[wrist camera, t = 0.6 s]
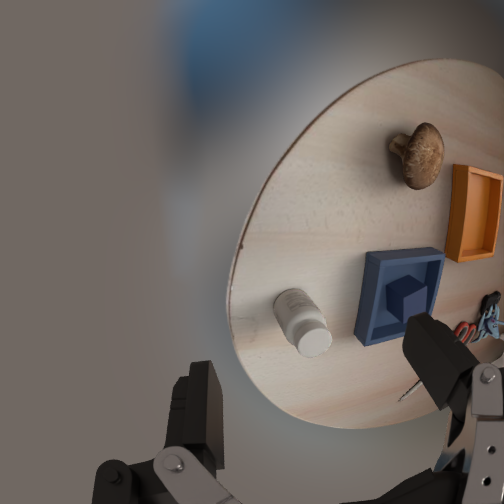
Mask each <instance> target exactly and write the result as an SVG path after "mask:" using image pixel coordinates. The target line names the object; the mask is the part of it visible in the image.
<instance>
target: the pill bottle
mask: <svg viewBox="0 0 504 504" xmlns="http://www.w3.org/2000/svg"><path fill="white" fill-rule="evenodd" d="M274 314H275V316H276V318H277V320H278V322H279V324H280V326H281V329H282V331H283V333H284V335H285V337H286V339H287V340H288V341H289V342H290V343H291V344H292V345H294V346H295V347H296V348H297V350H298V352H299V353H300V354H301V355H302V356H303V357H307V358H313V357H317V356H319V355H321V354H322V353H324V352H325V351H326V350H327V349H328V348H329V346H330V344H331V341H332V336H331V333H330V332H329V330H328V329H327V327H326V319H325V317H324V315H323V314H322V312H321V311H320V310H319V309H318V307H317V306H316V305H315V304H314V302H313V301H312V300H311V299H310V297H309V296H308V295H307V294H306V293H305V292H304V291H302V290H298V289H292V290H288V291H285V292H283V293H282V294H281V295H280V296H279V297H278V298H277V300H276V301H275V304H274Z"/></svg>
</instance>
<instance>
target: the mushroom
mask: <svg viewBox="0 0 504 504" xmlns="http://www.w3.org/2000/svg"><path fill="white" fill-rule="evenodd" d="M389 150H390V151H392V152H394V153H396V154H398V155H399V156H401V159H402V162H403V177H404V181H405V183H406V184H407V186H408V187H410V188H411V189H414V190H420V189H424V188H426V187H428V186H430V185H431V184H432V183H434V181H435V179H436V178H437V176H438V174H439V172H440V169H441V166H442V162H443V158H444V144H443V140H442V137H441V135H440V133H439V131H438V130H437V129H436V128H435V127H434V126H433V125H432V124H430V123H422V124H420V125H419V126H418V127H417V128H416V130H415V131H414V133H413V134H412V136H408V135H406V134H402V133H401V134H399V135H397V136H396V137H395V138H393V140H392V141H391V143H390V145H389Z"/></svg>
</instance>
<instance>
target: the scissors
mask: <svg viewBox="0 0 504 504" xmlns="http://www.w3.org/2000/svg"><path fill="white" fill-rule="evenodd" d="M463 328H464V329H463ZM462 329H463V331H462V333H461V335H460V336H459V337H458V335H459V333H460V331H461V330H462ZM475 332H476V326H475V325H474V324H471V325H470V326H469V325H468V323H467V322H462V323H461V324H460V325H459V326H458V327H457V329H456V330H455V332H454V334H455V335H456V336H457V337H458V338H459V340H461V341H462V342H463V344H464V345H465V346H467V345H468V344H469V342H470V341H471V339H472V338H473V336H474V334H475ZM422 384H423V383H422V381H421V380H420V381H419V382H418V383H417V384H416V385H415V386H414V387H413V388H412V389H411V390H409V391H408V392H407V393H406V394H405V395H404V396H403V397H402V398H401V399H400V401H402V400H403V399H405V398H406V397H407V396H409V395H410V394H411V393H413V392H414V391H415V390H416V389H418V388H419V387H420V386H421V385H422Z"/></svg>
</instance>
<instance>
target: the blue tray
mask: <svg viewBox="0 0 504 504" xmlns="http://www.w3.org/2000/svg"><path fill="white" fill-rule="evenodd" d="M445 255H446V254H445V253H443V252H441V251H439V250H436V249H434V248H432V247H427V248H415V249H402V250H390V251H377V252H367V254H366V263H365V270H364V278H363V285H362V291H361V298H360V304H359V309H358V315H357V321H356V326H355V331H354V335H355V336H356V337H357V339H358V340H359V341H360V342H361V343H362V344H363V346H364V347H365V346H369V345H373V344H377V343H381V342H385V341H389V340H392V339H396V338H399V337H403V336H404V335H405V330H406V326H407V322H406V323H404V324H402V323H401V322H400V321H399V320H398V319H397V318H396V317H394V316H393V315H392V314H391V313H390V312H389V311H387V300H386V285H387V284H389V283H391V282H393V281H396V280H398V279H400V278H402V277H404V276H406V275H410V276H412V277H414V278H415V279H417V280H419V281H420V282H422V283H423V284H425V285H426V286H427V300H426V312H427V313H428V314H429V315H430V316H431V315H432V311H433V308H434V304H435V300H436V296H437V292H438V288H439V284H440V279H441V275H442V270H443V265H444V259H445Z"/></svg>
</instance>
